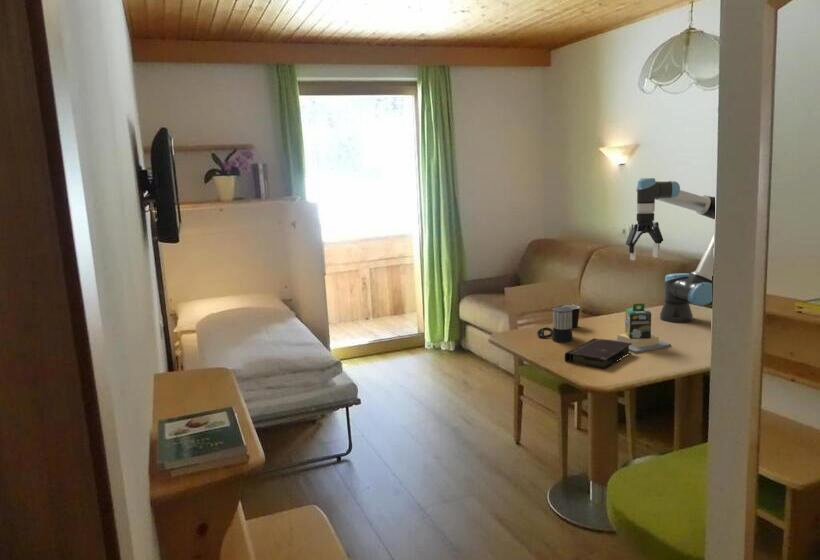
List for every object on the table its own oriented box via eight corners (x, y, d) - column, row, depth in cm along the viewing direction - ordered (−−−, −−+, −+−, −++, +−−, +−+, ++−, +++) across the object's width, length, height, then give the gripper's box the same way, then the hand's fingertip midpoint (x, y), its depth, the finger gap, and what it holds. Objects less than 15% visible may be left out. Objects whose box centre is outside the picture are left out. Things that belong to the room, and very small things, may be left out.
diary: (564, 363, 250) (563, 351, 249) (592, 348, 267) (592, 337, 267) (607, 371, 237) (607, 358, 236) (633, 354, 255) (633, 343, 254)
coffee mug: (580, 329, 295) (580, 309, 293) (562, 329, 297) (562, 309, 295) (578, 323, 306) (578, 303, 304) (561, 322, 308) (561, 303, 306)
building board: (640, 336, 279) (640, 327, 278) (670, 346, 263) (671, 337, 262) (605, 342, 271) (605, 334, 271) (635, 353, 255) (635, 344, 254)
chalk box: (645, 332, 270) (646, 300, 267) (651, 338, 261) (652, 305, 258) (624, 333, 271) (625, 300, 268) (629, 338, 262) (630, 305, 259)
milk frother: (573, 343, 273) (574, 311, 271) (538, 343, 276) (537, 311, 273) (570, 334, 287) (571, 303, 284) (536, 334, 290) (536, 304, 287)
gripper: (659, 210, 285) (658, 254, 289) (618, 214, 275) (617, 260, 279) (672, 211, 278) (670, 256, 282) (630, 214, 269) (629, 262, 272)
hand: (644, 258), depth 281 cm, fingers open, 13 cm apart
